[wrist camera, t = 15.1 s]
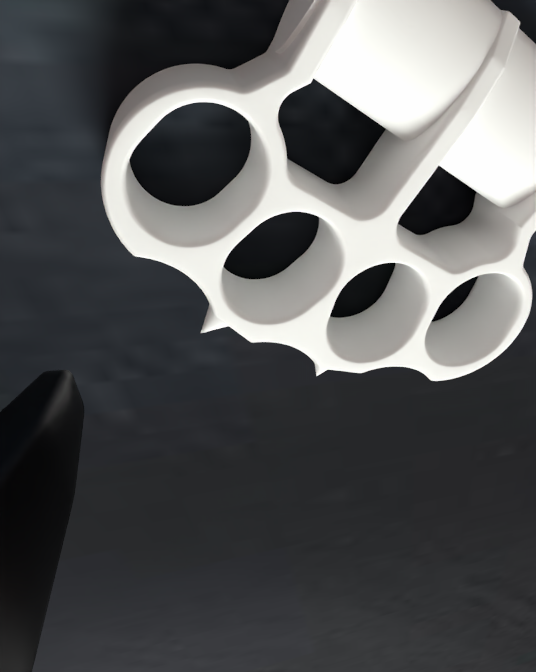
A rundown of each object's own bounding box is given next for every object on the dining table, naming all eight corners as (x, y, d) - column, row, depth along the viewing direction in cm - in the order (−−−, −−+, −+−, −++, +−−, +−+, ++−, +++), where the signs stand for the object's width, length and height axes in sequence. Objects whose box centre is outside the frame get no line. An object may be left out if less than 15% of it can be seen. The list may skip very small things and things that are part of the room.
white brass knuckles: (618, 143, 21) (396, 388, 27) (248, -203, 13) (55, 254, 19) (686, 170, 18) (423, 434, 25) (273, -243, 11) (41, 302, 17)
